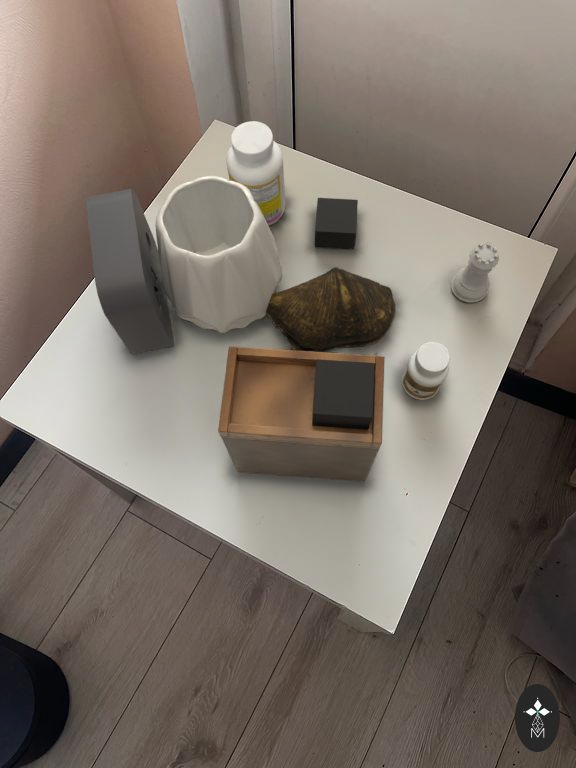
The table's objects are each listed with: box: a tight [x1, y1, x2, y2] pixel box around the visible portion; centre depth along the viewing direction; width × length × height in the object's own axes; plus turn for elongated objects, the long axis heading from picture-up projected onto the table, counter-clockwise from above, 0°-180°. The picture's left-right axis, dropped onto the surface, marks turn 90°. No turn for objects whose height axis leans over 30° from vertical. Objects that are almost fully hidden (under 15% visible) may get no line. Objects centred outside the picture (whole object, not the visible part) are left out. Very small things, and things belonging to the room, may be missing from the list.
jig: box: [217, 345, 385, 482], centre depth 61 cm, size 14×8×16 cm, turn 85°
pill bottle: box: [401, 341, 451, 401], centre depth 67 cm, size 4×4×8 cm
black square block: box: [312, 359, 375, 430], centre depth 53 cm, size 5×5×4 cm
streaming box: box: [85, 188, 175, 355], centre depth 69 cm, size 14×14×5 cm
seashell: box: [265, 266, 396, 352], centre depth 71 cm, size 16×9×7 cm, turn 98°
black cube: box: [314, 197, 359, 250], centre depth 77 cm, size 5×5×4 cm
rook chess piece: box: [450, 242, 500, 303], centre depth 71 cm, size 4×4×8 cm
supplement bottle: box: [225, 120, 286, 227], centre depth 74 cm, size 7×7×13 cm
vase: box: [154, 175, 283, 334], centre depth 68 cm, size 14×14×15 cm
